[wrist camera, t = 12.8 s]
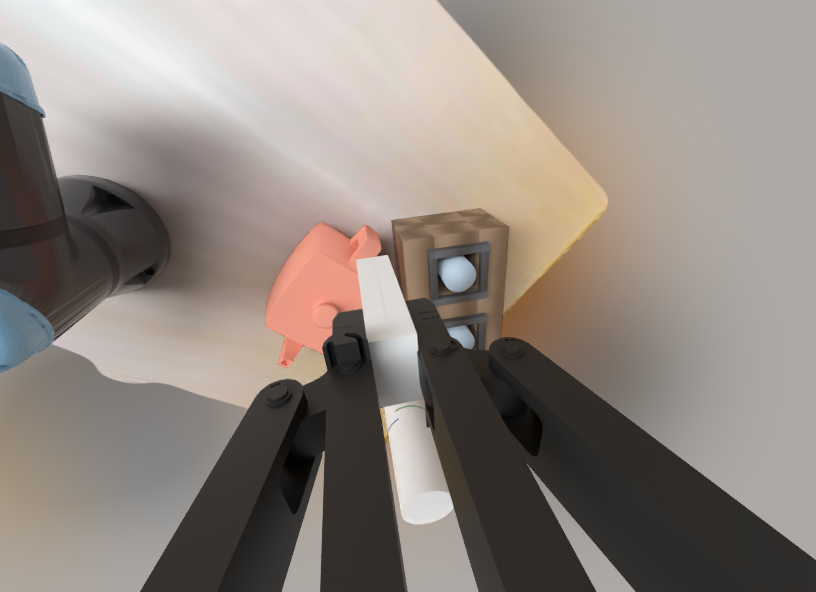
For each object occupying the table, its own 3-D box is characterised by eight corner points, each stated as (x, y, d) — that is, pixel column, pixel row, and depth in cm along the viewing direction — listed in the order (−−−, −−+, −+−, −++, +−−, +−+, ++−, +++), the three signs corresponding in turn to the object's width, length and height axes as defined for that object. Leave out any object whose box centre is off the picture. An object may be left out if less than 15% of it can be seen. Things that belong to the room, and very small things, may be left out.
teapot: (323, 339, 57) (319, 400, 45) (253, 305, 52) (227, 363, 40) (401, 240, 52) (421, 279, 39) (331, 190, 46) (329, 216, 34)
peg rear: (431, 325, 58) (446, 358, 50) (430, 303, 55) (445, 334, 48) (456, 321, 58) (474, 353, 50) (455, 299, 56) (474, 329, 48)
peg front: (428, 267, 52) (444, 294, 44) (427, 241, 50) (443, 264, 42) (455, 263, 53) (475, 289, 45) (455, 237, 51) (476, 259, 43)
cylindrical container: (371, 380, 64) (389, 515, 42) (397, 356, 62) (429, 484, 41) (398, 396, 67) (427, 529, 45) (423, 374, 65) (465, 500, 44)
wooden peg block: (403, 338, 60) (416, 379, 51) (391, 220, 50) (404, 244, 40) (477, 325, 62) (502, 362, 53) (480, 208, 51) (512, 229, 42)
